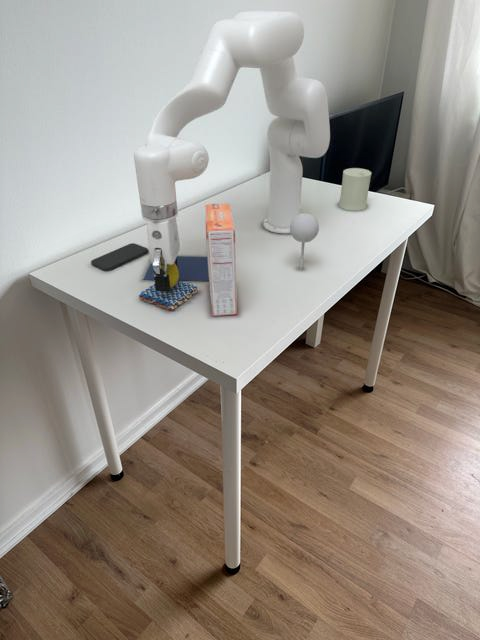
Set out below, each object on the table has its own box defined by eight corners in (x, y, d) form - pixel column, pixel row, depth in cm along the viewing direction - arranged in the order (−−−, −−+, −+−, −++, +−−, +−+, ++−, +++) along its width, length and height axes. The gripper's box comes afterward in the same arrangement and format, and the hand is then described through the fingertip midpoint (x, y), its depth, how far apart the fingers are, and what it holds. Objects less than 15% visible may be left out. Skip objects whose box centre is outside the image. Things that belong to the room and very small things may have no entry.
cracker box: (208, 285, 111) (204, 203, 99) (233, 284, 112) (231, 202, 100) (210, 317, 100) (205, 229, 88) (237, 315, 100) (236, 227, 88)
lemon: (182, 283, 108) (179, 253, 103) (177, 295, 103) (174, 264, 99) (159, 282, 108) (155, 252, 104) (153, 294, 104) (149, 263, 99)
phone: (150, 249, 126) (106, 269, 116) (150, 252, 126) (107, 272, 117) (132, 242, 130) (88, 261, 120) (132, 245, 130) (89, 264, 120)
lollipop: (317, 264, 120) (322, 210, 111) (311, 277, 114) (317, 221, 105) (291, 261, 121) (294, 207, 113) (284, 273, 116) (287, 217, 107)
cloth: (219, 257, 123) (219, 257, 123) (214, 281, 113) (214, 280, 113) (154, 256, 124) (154, 255, 124) (143, 279, 114) (143, 279, 114)
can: (351, 213, 149) (356, 176, 142) (333, 204, 156) (337, 169, 149) (372, 207, 153) (378, 172, 146) (353, 199, 160) (358, 165, 153)
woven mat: (200, 292, 108) (199, 285, 107) (172, 313, 101) (171, 305, 100) (166, 281, 113) (165, 273, 112) (137, 300, 106) (136, 293, 105)
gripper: (169, 225, 87) (177, 300, 97) (183, 194, 102) (189, 262, 111) (131, 225, 88) (142, 299, 98) (150, 194, 102) (159, 262, 112)
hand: (167, 279), depth 105 cm, fingers open, 9 cm apart
